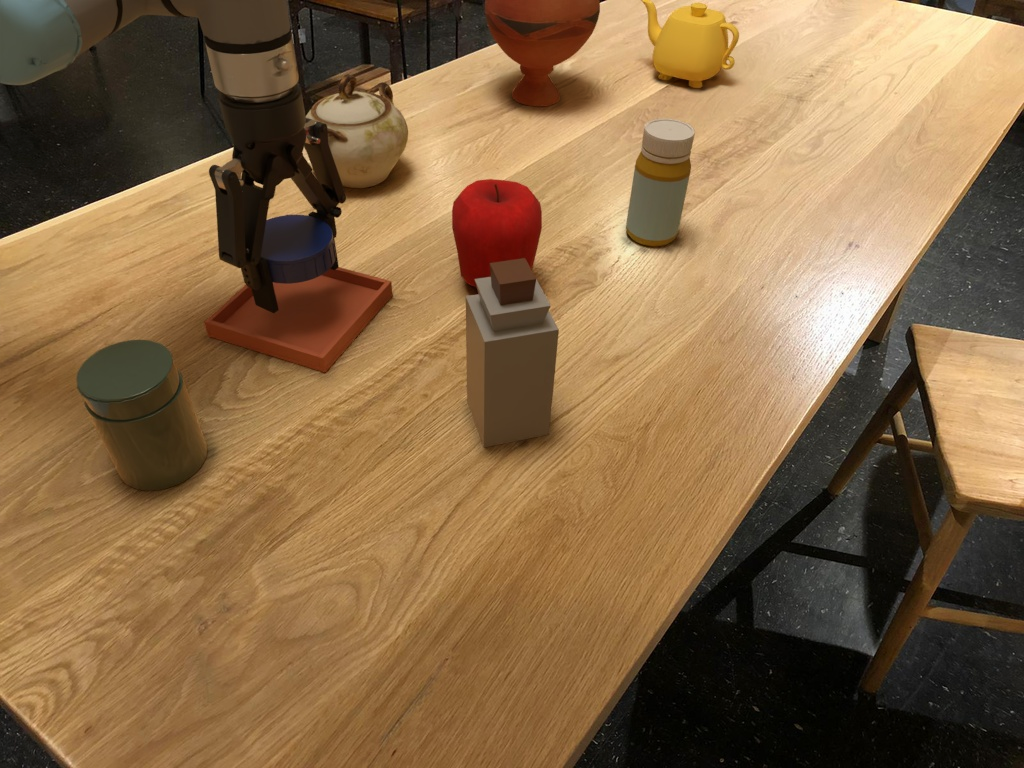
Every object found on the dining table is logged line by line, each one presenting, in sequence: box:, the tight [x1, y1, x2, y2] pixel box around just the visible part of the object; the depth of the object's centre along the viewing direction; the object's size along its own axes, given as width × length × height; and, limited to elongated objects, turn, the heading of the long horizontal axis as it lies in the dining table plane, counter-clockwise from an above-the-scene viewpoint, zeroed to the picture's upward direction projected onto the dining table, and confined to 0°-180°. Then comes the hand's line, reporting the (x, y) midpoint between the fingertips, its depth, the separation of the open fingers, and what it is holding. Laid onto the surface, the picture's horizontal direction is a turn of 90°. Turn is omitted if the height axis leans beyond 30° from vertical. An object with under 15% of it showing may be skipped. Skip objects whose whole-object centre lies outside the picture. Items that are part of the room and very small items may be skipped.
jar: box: [76, 339, 208, 492], centre depth 69 cm, size 8×8×12 cm
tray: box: [203, 266, 394, 373], centre depth 88 cm, size 15×15×2 cm
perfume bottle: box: [465, 258, 560, 448], centre depth 72 cm, size 7×7×18 cm
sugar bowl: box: [304, 73, 409, 189], centre depth 109 cm, size 20×15×15 cm
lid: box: [247, 214, 337, 284], centre depth 83 cm, size 9×9×3 cm
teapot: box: [640, 0, 740, 89], centre depth 142 cm, size 14×20×13 cm
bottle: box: [625, 118, 695, 248], centre depth 99 cm, size 7×7×15 cm
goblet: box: [484, 0, 601, 108], centre depth 128 cm, size 19×19×25 cm
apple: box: [451, 178, 543, 289], centre depth 90 cm, size 10×10×14 cm
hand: (298, 285), depth 86 cm, fingers closed on lid, 9 cm apart
